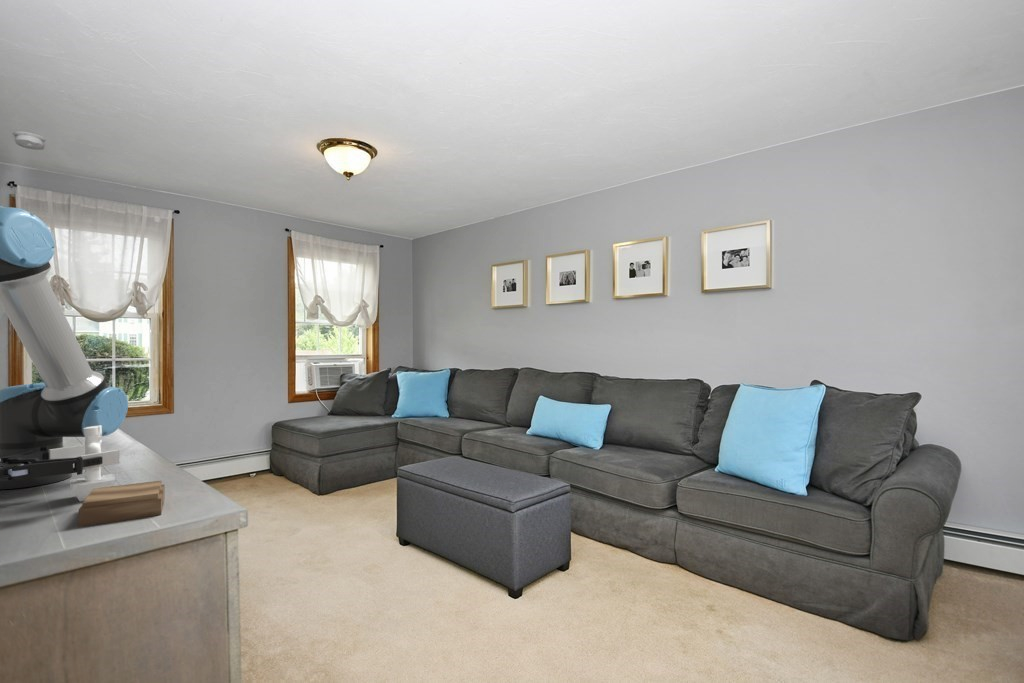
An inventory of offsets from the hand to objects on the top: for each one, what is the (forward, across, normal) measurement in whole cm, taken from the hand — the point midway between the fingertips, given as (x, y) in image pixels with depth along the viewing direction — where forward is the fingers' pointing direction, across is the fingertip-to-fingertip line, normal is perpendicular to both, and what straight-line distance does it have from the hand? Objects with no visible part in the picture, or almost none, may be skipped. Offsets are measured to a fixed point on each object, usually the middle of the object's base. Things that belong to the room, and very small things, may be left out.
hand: (102, 453), depth 110 cm
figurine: (-2, 0, -9) cm, 9 cm away
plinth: (-4, +17, -9) cm, 20 cm away
